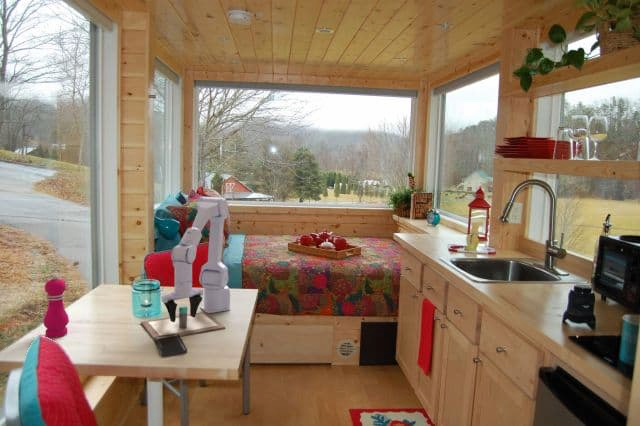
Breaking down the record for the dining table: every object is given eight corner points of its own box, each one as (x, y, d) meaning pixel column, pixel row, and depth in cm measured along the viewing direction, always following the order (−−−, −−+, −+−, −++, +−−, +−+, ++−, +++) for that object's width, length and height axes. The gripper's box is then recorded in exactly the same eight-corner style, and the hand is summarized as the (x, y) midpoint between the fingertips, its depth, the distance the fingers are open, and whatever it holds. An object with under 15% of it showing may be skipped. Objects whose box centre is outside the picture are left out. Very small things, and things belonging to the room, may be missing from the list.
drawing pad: (206, 313, 185) (206, 311, 185) (225, 328, 170) (225, 326, 170) (140, 323, 171) (140, 321, 171) (155, 341, 156) (155, 338, 156)
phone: (178, 333, 162) (188, 350, 148) (178, 337, 162) (187, 354, 148) (153, 336, 158) (161, 354, 145) (153, 340, 158) (161, 358, 145)
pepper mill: (73, 333, 160) (72, 274, 157) (52, 340, 154) (50, 278, 151) (60, 328, 163) (59, 270, 161) (39, 335, 157) (37, 274, 155)
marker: (184, 325, 169) (184, 305, 168) (188, 327, 167) (188, 307, 166) (177, 326, 167) (177, 307, 166) (181, 329, 165) (181, 309, 165)
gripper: (195, 274, 173) (195, 311, 175) (157, 281, 163) (157, 320, 165) (206, 278, 168) (206, 316, 170) (168, 285, 158) (167, 326, 160)
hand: (183, 318), depth 167 cm, fingers open, 7 cm apart
